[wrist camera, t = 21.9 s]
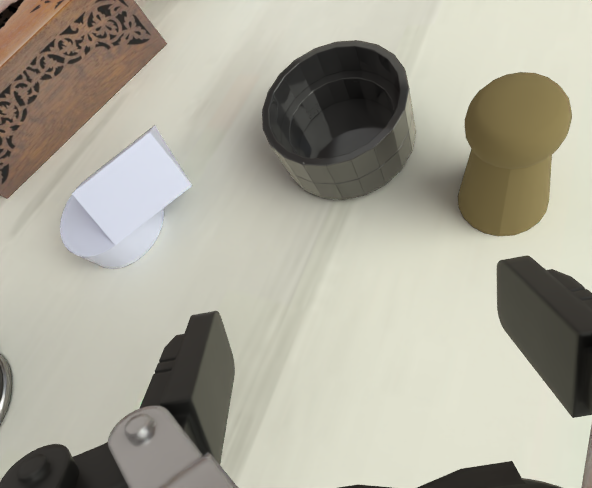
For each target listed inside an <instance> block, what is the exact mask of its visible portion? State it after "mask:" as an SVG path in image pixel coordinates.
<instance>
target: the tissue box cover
mask: <svg viewBox="0 0 592 488" xmlns="http://www.w3.org/2000/svg"><path fill="white" fill-rule="evenodd" d="M166 44H167V43H166V42H165V40H164V39H163V38H162V37H161V35H160V34H159V33H158V31H157V30H156V29H155V27H154V26H153V25H152V23H151V22H150V21H149V20H148V18H147V17H146V16H145V14H144V13H143V12H142V10H141V9H140V8H139V6H138V5H137V4H136V3H135V1H134V0H0V195H1V196H3V197H5V198H8V197H9V196H10V195H11V194H12V193H13V192H14V191H16V190H17V189H18V188H19V187H20V186H21V185H22V184H23V183H24V182H25V181H26V180H27V179H28V178H29V177H30V176H31V175H32V174H33V173H34V172H35V171H36V170H37V169H38V168H39V167H40V166H41V165H42V164H43V163H44V162H45V161H46V160H47V159H49V158H50V157H51V156H52V155H53V154H54V153H55V152H56V151H57V150H58V149H59V148H60V147H61V146H62V145H63V144H64V143H65V142H66V141H67V140H68V139H69V138H70V137H71V136H72V135H73V134H74V133H75V132H76V131H77V130H78V129H79V128H80V127H82V126H83V125H84V124H85V123H86V122H87V121H88V120H89V119H90V118H91V117H92V116H93V115H94V114H95V113H96V112H97V111H98V110H99V109H100V108H101V107H102V106H103V105H104V104H105V103H106V102H107V101H108V100H109V99H110V98H111V97H112V96H113V95H115V94H116V93H117V92H118V91H119V90H120V89H121V88H122V87H123V86H124V85H125V84H126V83H127V82H128V81H129V80H130V79H131V78H132V77H133V76H134V75H135V74H136V73H137V72H138V71H139V70H140V69H141V68H142V67H143V66H144V65H145V64H146V63H148V62H149V61H150V60H151V59H152V58H153V57H154V56H155V55H156V54H157V53H158V52H159V51H160V50H161V49H162V48H163V47H164V46H165V45H166Z"/></svg>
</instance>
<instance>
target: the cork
mask: <svg viewBox="0 0 592 488" xmlns="http://www.w3.org/2000/svg"><path fill="white" fill-rule="evenodd" d="M571 119H572V113H571V107H570V102H569V98H568V96H567V95H566V94H565V92H564V91H563V89H562V88H561V87H560V86H559V85H558V84H557V83H555V82H554V81H552V80H551V79H549V78H548V77H545V76H542V75H539V74H536V73H523V72H519V73H514V74H508V75H505V76H502V77H500V78H498V79H495V80H493V81H492V82H491V83H489V84H488V85H487V86H485V87H484V88H483V89H481V90H480V91H479V92H478V93H477V94H476V96H475V97H474V98H473V100H472V101H471V103H470V105H469V107H468V111H467V114H466V117H465V133H466V139H467V141H468V143H469V145H470V147H471V148H472V149H471V153H470V156H469V160H468V163H467V166H466V170H465V173H464V177H463V180H462V184H461V187H460V190H459V194H458V205H459V209H460V211H461V213H462V215H463V217H464V219H465V220H466V221H467V222H468V223H469V224H470V225H471V226H472V227H474V228H476V229H478V230H480V231H481V232H483V233H486V234H491V235H496V236H509V235H516V234H519V233H522V232H524V231H527V230H529V229H530V228H532V227H533V226H534V225H536V224H537V223H538V222H539V221H540V220H541V218H542V217H543V215H544V214H545V213H546V210H547V206H548V202H549V192H550V176H551V160H552V154H553V153H554V152H555V151H556V150H557V149H558V148H559V146H560V145H561V143H562V142H563V141H564V139H565V138H566V136H567V134H568V131H569V127H570V123H571Z"/></svg>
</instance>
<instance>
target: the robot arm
mask: <svg viewBox="0 0 592 488" xmlns="http://www.w3.org/2000/svg"><path fill="white" fill-rule="evenodd" d="M497 310H498V316H499V319H500V322H501V325H502V327H503V328H504V330H505V331H506V333H507V334H508V335H509V337H510V338H511V339H512V340H513V342H514V343H515V344H516V346H517V347H518V348H519V349H520V351H521V352H522V353H523V355H524V356H525V357H526V358H527V360H528V361H529V362H530V364H531V365H532V366H533V367H534V369H535V370H536V371H537V373H538V374H539V375H540V376H541V378H542V379H543V380H544V381H545V383H546V384H547V385H548V387H549V388H550V389H551V390H552V392H553V393H554V394H555V396H556V397H557V398H558V399H559V401H560V402H561V403H562V405H563V406H564V407H565V408H566V410H567V411H568V412H569V414H570V415H571V416H572V417H573V418H574V417H581V416H587V415H592V293H591V292H590V291H588V290H587V289H586V290H585V288H584V287H583V286H582V285H581V284H580V283H578V282H577V281H576V280H575V279H573V278H572V277H570V276H568V275H565V274H563V273H560V272H558V271H555V270H553V269H551V270H545V269H544V268H543V267H542V266H541V265H539V264H538V263H537V262H536V261H535V260H534V259H532V258H531V257H530V256H522V257H517V258H511V259H506V260H500V261H499V262H498V264H497ZM159 362H160V363H158V365H157V367H156V370H155V374H154V375H153V377H152V379H151V382H150V384H149V387H148V389H147V392H146V394H145V396H144V399H143V401H142V404H141V406H140V409H138V410H135V411H134V412H132V413H130V414H128V415H127V416H125V417H124V418H123V419H122V420H121V421H120V422H119V423H118V424H117V425H116V426H115V427H114V428H113V430H112V432H111V433H110V436H109V439H108V442H107V443H105V444H103V445H101V446H98V447H96V448H94V449H91V450H89V451H86V452H84V453H82V454H79V455H77V456H74V457H72V455H71V454H70V452H69V450H68V449H67V448H66V447H65V446H63V445H60V444H52V445H47V446H43V447H41V448H38V449H36V450H34V451H32V452H30V453H29V454H27V455H26V456H24V457H23V458H21V459H20V460H19V461H18V462H16V463H15V464H14V465H13V466H12V467H11V468H10V469H9V470H8V472H7V473H6V474H5V476H4V477H3V478H2V480H1V482H0V488H238V487H237V486H236V485H235V483H234V482H233V481H232V480H231V478H230V477H229V476H228V475H227V473H226V472H225V471H224V470H223V468H222V467H221V466H220V461H221V455H222V449H223V443H224V437H225V430H226V424H227V418H228V412H229V406H230V400H231V393H232V387H233V381H234V374H235V367H234V359H233V354H232V351H231V348H230V344H229V341H228V338H227V335H226V332H225V329H224V325H223V322H222V319H221V316H220V314H219V312H218V311H213V312H208V313H202V314H196V315H192V316H191V317H190V320H189V323H188V326H187V328H186V331H185V334H181V335H176V336H175V337H174V338H173V339H172V340H171V341H170V342H169V343H168V345H167V346H166V347H165V348H164V350H163V353H162V355H161V358H160V360H159ZM11 391H12V376H11V371H10V368H9V365H8V363H7V361H6V360H5V358H4V357H3V356H2V355H1V354H0V424H1V423H2V421H3V419H4V416H5V414H6V412H7V409H8V406H9V402H10V398H11ZM339 488H390V487H378V486H367V485H352V486H346V487H339ZM417 488H561V487H559V486H556V485H553V484H549V483H546V482H542V481H537V480H531V479H524V478H521V476H520V474H519V473H518V471H517V469H516V467H515V465H514V464H513V462H512V461H510V462H503V463H497V464H490V465H484V466H477V467H470V468H464V469H460V470H457V471H455V472H453V473H450V474H448V475H446V476H443V477H441V478H439V479H436V480H434V481H432V482H429V483H427V484H425V485H422V486H420V487H417ZM582 488H592V426H591V432H590V438H589V444H588V450H587V457H586V463H585V469H584V475H583V482H582Z"/></svg>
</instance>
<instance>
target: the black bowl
mask: <svg viewBox="0 0 592 488" xmlns="http://www.w3.org/2000/svg"><path fill="white" fill-rule="evenodd" d="M262 119H263V130H264V133H265V135H266V137H267V139H268V142H269V144H270V146H271V147H272V148H273V150H274V151H275V153H276V154H277V156H278V157H279V159H280V160H281V162H282V163H283V165H284V166H285V168H286V169H287V171H288V172H289V174H290V175H291V177H292V178H293V180H295V181H296V182H297V183H298V184H299V185H300V186H301V187H302V188H303V189H304V190H305V191H307V192H309V193H312V194H314V195H316V196H319V197H321V198H325V199H338V200H345V199H350V198H355V197H359V196H364V195H367V194H369V193H371V192H373V191H375V190H377V189H379V188H380V187H382V186H384V185H385V184H387V183H388V182H389V181H390V180H391V179H392V178H393V177H394V176H395V175H397V174H398V173H399V172H400V171H401V169H402V168H403V166H404V165H405V163H406V161H407V159H408V158H409V156H410V154H411V153H412V151H413V145H414V140H415V134H416V130H415V123H414V117H413V110H412V104H411V97H410V90H409V85H408V80H407V75H406V71H405V69H404V67H403V66H402V64H401V63H400V62H399V60H398V59H397V58H396V56H395V55H394V54H392V53H391V52H389V51H388V50H386V49H384V48H383V47H381V46H379V45H377V44H373V43H368V42H363V41H357V40H355V41H340V42H334V43H330V44H327V45H324V46H321V47H318V48H315V49H313V50H311V51H309V52H308V53H306V54H304V55H303V56H301V57H299V58H297V59H296V60H294V61H293V62H292V63H291V64H290V65H289V66H288V67H287V68H286V69H285V70H284V71H282V72H281V73H280V75H279V76H278V77H277V79H276V80H275V82H274V83H273V85H272V86H271V88H270V89H269V91H268V93H267V97H266V100H265V103H264V106H263V109H262Z"/></svg>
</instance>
